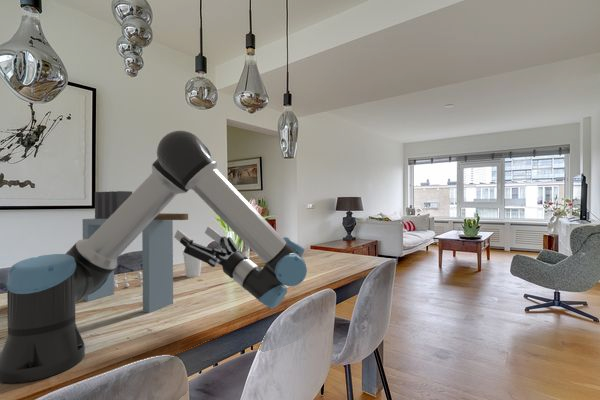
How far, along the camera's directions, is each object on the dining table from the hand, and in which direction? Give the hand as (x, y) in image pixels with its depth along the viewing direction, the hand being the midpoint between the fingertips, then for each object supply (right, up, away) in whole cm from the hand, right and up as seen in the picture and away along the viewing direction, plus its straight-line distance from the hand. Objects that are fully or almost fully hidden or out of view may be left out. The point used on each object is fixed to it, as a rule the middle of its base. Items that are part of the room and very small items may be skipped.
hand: (192, 231), depth 102 cm
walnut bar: (-14, +3, +6) cm, 16 cm away
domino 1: (-40, +3, +18) cm, 44 cm away
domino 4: (-29, +3, +13) cm, 32 cm away
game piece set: (-40, -28, +41) cm, 64 cm away
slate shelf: (-28, -27, +12) cm, 40 cm away
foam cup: (-18, -27, +52) cm, 62 cm away
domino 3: (-33, +3, +14) cm, 36 cm away
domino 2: (-36, +3, +16) cm, 40 cm away
